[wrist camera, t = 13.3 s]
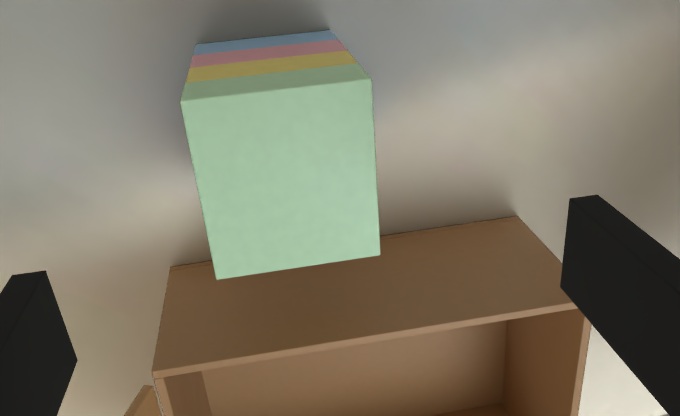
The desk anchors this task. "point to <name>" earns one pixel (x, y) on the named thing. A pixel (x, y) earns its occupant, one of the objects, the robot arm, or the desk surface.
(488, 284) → the carton
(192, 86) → the sticky pads
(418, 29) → the desk surface
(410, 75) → the desk surface
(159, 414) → the flap
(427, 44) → the desk surface
